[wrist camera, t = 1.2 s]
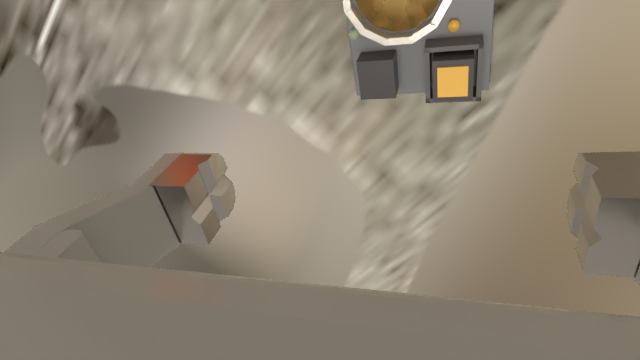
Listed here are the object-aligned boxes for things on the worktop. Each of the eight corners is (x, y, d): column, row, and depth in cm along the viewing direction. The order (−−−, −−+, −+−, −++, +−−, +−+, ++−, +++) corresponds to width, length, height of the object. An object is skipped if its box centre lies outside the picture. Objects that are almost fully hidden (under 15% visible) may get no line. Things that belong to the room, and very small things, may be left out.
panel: (338, -69, 34) (328, -62, 31) (499, -97, 30) (502, -91, 28) (359, 90, 42) (352, 106, 40) (487, 83, 38) (489, 101, 36)
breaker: (433, 52, 36) (432, 62, 34) (474, 49, 34) (474, 59, 33) (434, 91, 38) (432, 103, 36) (472, 89, 37) (472, 101, 35)
